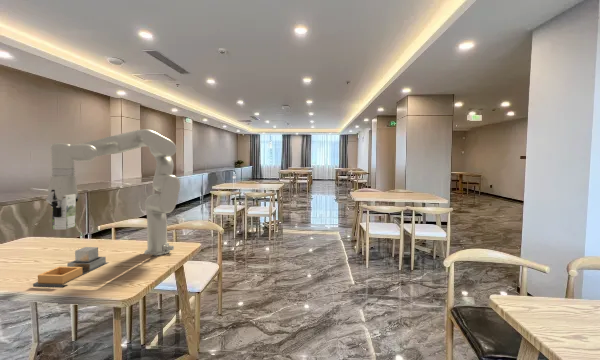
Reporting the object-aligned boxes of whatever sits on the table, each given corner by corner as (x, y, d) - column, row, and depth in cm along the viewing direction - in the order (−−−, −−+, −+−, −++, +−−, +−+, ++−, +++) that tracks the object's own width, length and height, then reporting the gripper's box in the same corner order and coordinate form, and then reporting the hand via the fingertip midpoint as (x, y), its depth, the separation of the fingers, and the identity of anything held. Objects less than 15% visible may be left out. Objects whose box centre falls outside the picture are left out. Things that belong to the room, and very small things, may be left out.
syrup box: (62, 226, 129) (61, 193, 129) (76, 226, 130) (75, 193, 129) (52, 229, 124) (51, 194, 123) (67, 229, 124) (66, 195, 123)
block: (98, 264, 138) (98, 247, 137) (88, 268, 132) (88, 251, 131) (85, 264, 138) (85, 247, 138) (75, 268, 132) (75, 250, 132)
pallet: (84, 264, 141) (84, 255, 141) (109, 265, 141) (109, 256, 141) (33, 286, 115) (32, 276, 115) (63, 287, 115) (62, 277, 115)
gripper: (72, 172, 134) (73, 212, 135) (35, 173, 117) (36, 219, 118) (87, 172, 134) (88, 212, 135) (53, 173, 117) (54, 219, 118)
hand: (64, 215), depth 126 cm, fingers closed on syrup box, 6 cm apart
